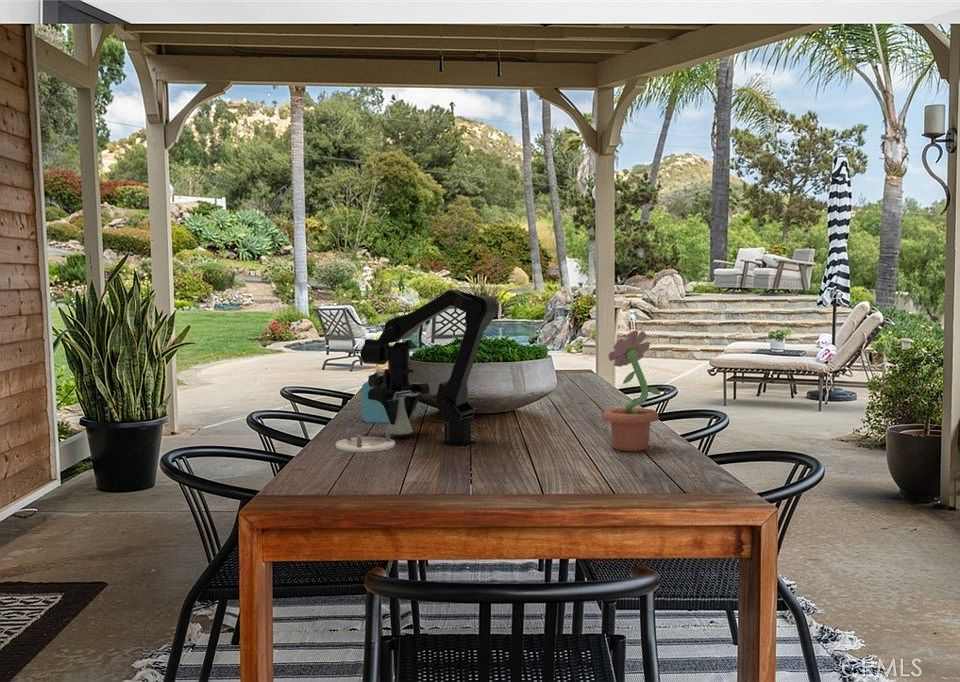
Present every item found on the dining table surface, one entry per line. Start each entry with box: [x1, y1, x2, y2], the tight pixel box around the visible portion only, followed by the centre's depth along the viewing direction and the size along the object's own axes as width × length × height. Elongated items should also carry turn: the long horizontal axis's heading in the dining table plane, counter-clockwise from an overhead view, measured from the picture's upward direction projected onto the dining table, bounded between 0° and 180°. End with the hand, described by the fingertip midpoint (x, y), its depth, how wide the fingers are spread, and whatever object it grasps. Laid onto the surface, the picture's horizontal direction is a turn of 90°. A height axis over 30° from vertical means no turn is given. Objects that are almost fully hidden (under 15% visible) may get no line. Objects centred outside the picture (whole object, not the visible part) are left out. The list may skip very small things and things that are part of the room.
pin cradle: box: [335, 427, 396, 453], centre depth 233 cm, size 15×15×4 cm
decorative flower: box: [602, 330, 661, 452], centre depth 228 cm, size 15×14×30 cm
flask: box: [386, 395, 414, 435], centre depth 244 cm, size 7×7×10 cm
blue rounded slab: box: [361, 381, 403, 424], centre depth 270 cm, size 12×4×12 cm, turn 79°
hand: (399, 423), depth 245 cm, fingers closed on flask, 5 cm apart
